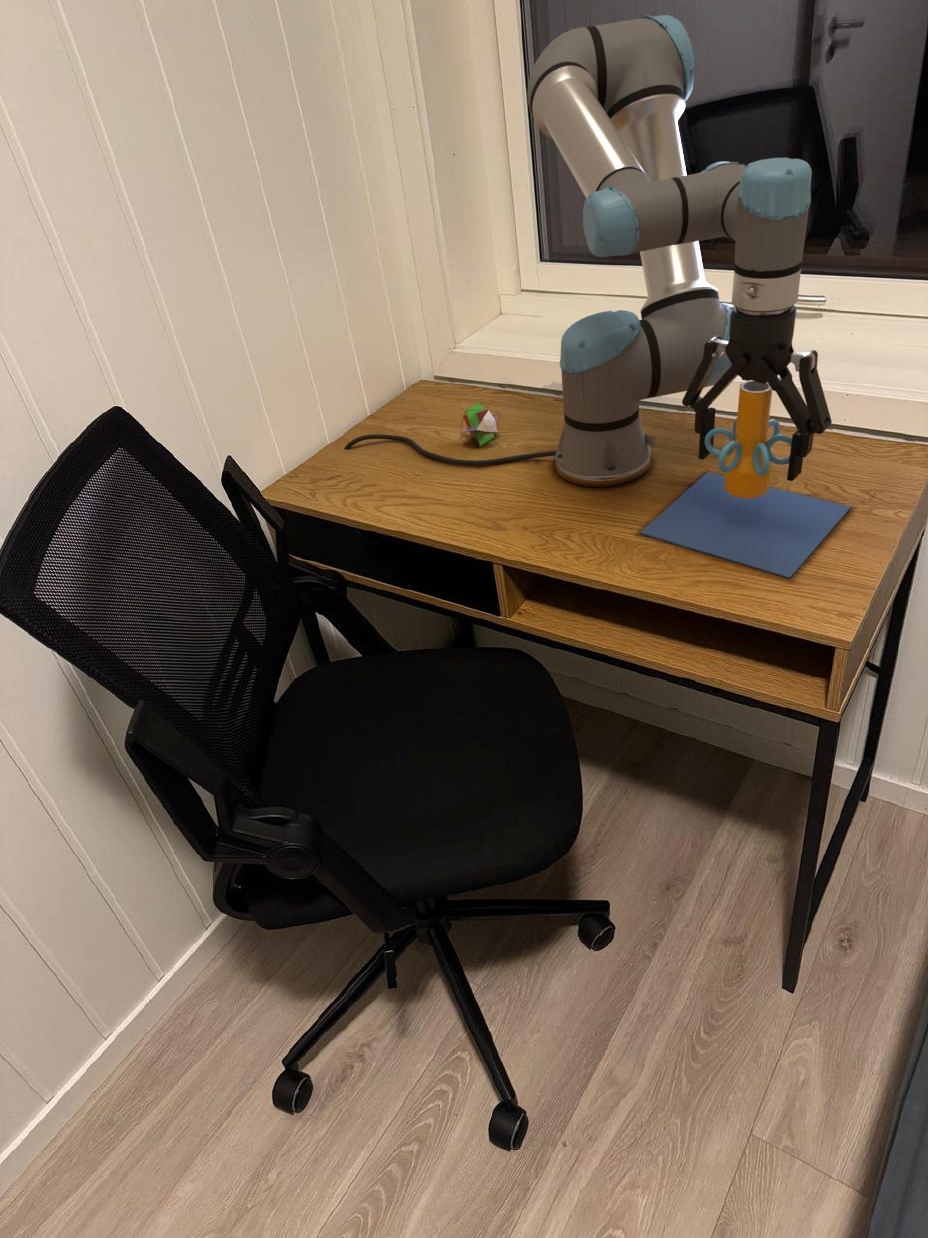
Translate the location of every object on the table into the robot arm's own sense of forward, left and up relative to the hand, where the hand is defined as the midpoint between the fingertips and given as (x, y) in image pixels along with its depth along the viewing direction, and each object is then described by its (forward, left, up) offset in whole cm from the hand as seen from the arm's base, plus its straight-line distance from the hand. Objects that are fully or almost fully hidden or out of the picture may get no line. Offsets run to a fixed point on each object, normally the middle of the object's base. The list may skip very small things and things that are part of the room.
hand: (748, 465), depth 116 cm
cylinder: (0, 0, -4) cm, 4 cm away
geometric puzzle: (-51, +3, -9) cm, 52 cm away
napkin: (0, 0, -9) cm, 9 cm away
